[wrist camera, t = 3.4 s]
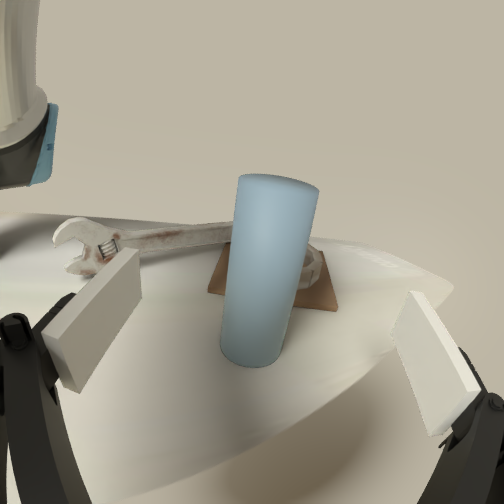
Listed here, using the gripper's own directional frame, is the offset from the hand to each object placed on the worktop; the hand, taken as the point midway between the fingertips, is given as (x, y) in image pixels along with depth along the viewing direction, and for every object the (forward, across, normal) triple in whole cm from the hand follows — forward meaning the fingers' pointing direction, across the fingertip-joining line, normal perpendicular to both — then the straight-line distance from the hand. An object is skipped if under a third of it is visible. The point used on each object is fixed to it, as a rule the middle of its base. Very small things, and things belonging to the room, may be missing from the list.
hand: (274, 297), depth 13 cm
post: (+10, 0, -13) cm, 17 cm away
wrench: (+24, -14, -12) cm, 30 cm away
